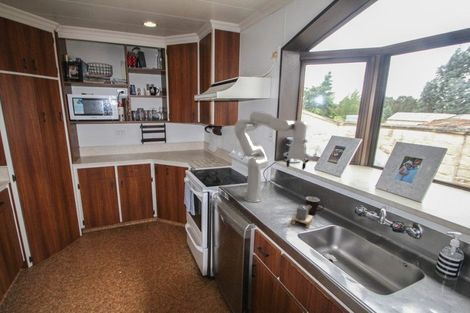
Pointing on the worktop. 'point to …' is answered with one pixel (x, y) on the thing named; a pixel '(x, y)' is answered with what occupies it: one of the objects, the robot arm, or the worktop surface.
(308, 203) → the coffee mug
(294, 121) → the robot arm
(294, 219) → the stand
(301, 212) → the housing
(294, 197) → the worktop surface
